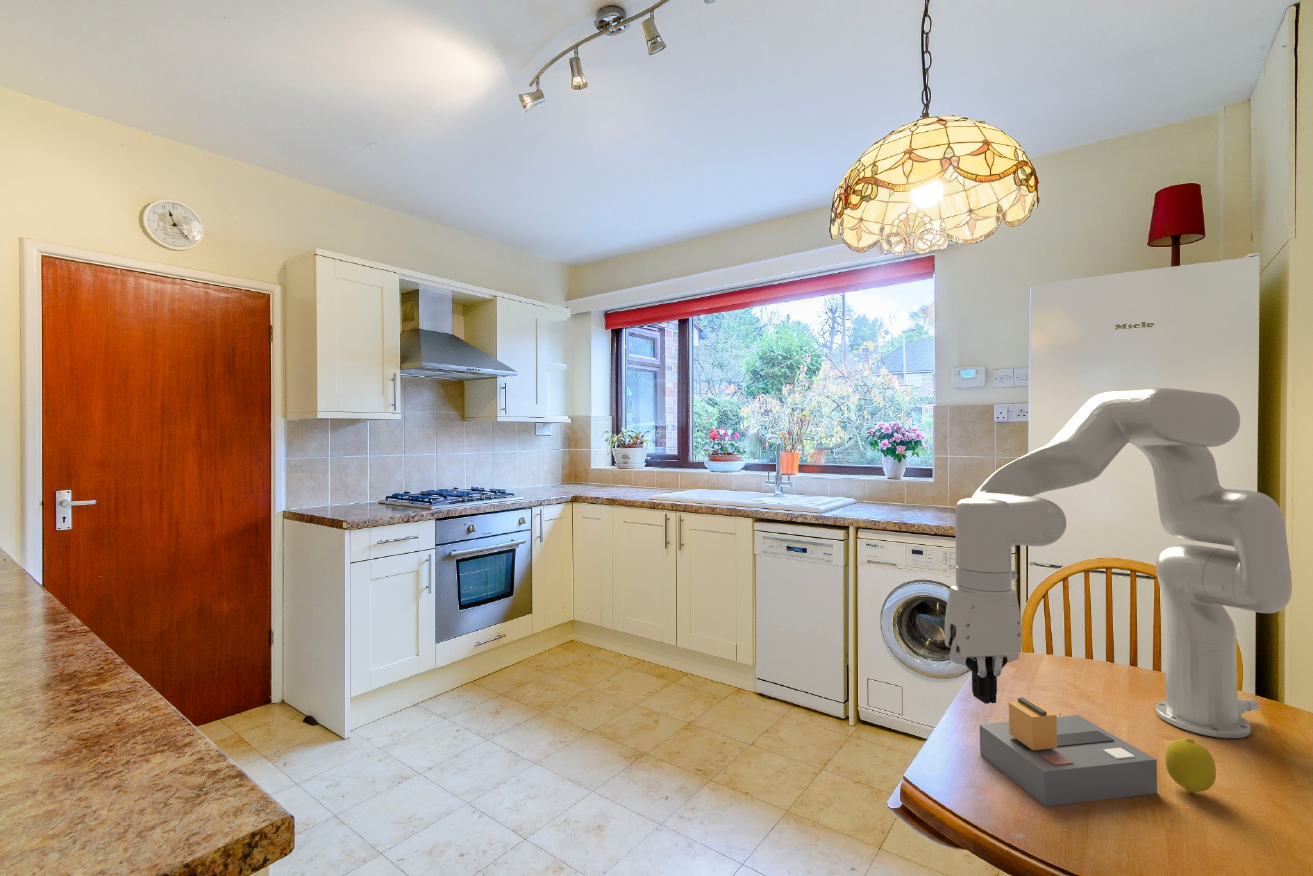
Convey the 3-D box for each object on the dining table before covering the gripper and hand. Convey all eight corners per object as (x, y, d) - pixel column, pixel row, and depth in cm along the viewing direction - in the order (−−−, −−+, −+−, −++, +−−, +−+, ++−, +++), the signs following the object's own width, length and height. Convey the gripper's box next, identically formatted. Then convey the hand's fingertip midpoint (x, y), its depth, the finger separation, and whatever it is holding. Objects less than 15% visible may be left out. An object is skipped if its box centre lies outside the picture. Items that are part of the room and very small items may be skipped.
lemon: (1156, 781, 91) (1155, 729, 91) (1193, 781, 90) (1192, 728, 90) (1187, 804, 85) (1186, 748, 85) (1227, 804, 85) (1226, 747, 85)
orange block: (1032, 731, 96) (1031, 696, 96) (1057, 747, 91) (1056, 710, 91) (1009, 733, 95) (1008, 698, 95) (1032, 750, 90) (1032, 713, 90)
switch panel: (1078, 744, 102) (1078, 713, 102) (1157, 793, 88) (1156, 758, 88) (980, 754, 99) (979, 723, 99) (1044, 806, 86) (1044, 770, 86)
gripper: (1011, 572, 96) (1012, 686, 96) (923, 576, 95) (924, 692, 95) (1046, 583, 89) (1048, 707, 89) (952, 587, 87) (954, 714, 87)
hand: (984, 699), depth 92 cm, fingers closed
